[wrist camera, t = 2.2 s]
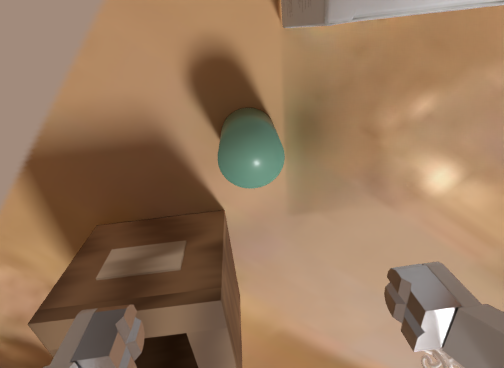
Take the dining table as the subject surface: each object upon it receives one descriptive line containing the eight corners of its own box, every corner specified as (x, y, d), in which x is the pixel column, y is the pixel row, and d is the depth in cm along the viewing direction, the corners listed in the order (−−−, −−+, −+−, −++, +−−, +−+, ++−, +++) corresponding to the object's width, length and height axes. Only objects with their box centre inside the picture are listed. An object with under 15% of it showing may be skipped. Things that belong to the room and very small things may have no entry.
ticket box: (224, 208, 26) (220, 298, 17) (240, 296, 32) (243, 397, 23) (95, 223, 26) (25, 322, 17) (135, 309, 32) (98, 415, 23)
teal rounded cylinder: (273, 104, 22) (283, 123, 17) (276, 156, 24) (285, 185, 19) (217, 110, 22) (212, 130, 17) (225, 162, 24) (222, 191, 19)
